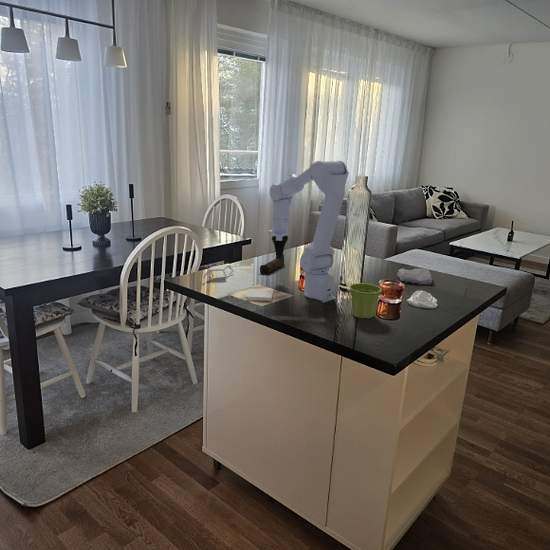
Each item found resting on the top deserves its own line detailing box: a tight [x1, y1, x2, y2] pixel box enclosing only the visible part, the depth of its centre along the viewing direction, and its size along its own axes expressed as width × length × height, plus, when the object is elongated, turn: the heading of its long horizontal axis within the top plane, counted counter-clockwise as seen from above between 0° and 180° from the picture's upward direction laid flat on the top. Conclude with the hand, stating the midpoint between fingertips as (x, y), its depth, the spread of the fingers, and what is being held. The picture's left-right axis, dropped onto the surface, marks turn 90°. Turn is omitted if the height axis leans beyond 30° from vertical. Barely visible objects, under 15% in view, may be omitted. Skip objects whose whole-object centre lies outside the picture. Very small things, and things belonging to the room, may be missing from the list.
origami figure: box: [203, 264, 235, 280], centre depth 174 cm, size 12×8×5 cm
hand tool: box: [259, 253, 285, 275], centre depth 190 cm, size 19×4×5 cm, turn 153°
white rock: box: [406, 290, 439, 309], centre depth 155 cm, size 10×4×10 cm
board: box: [226, 284, 294, 307], centre depth 156 cm, size 16×15×1 cm
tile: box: [246, 289, 273, 301], centre depth 154 cm, size 8×1×8 cm
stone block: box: [396, 268, 433, 285], centre depth 181 cm, size 12×5×10 cm
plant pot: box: [348, 282, 383, 320], centre depth 143 cm, size 9×9×9 cm
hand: (279, 256), depth 172 cm, fingers closed
